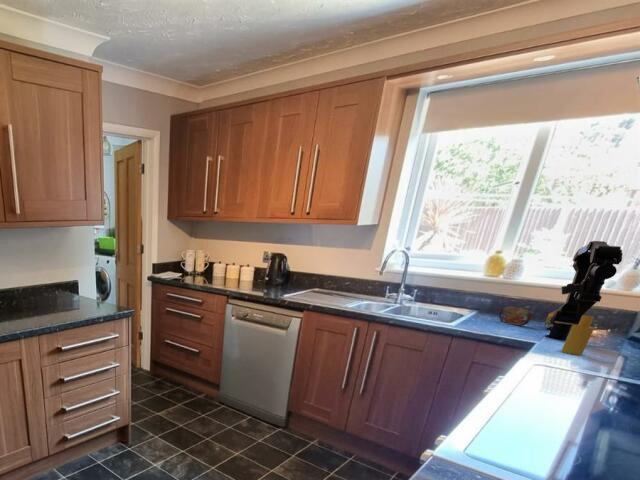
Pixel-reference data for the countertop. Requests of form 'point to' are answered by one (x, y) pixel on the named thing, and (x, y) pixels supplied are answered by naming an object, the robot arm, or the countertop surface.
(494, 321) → the countertop surface
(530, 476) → the countertop surface
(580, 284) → the robot arm
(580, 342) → the bottle
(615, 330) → the countertop surface
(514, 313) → the tin
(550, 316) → the burger
